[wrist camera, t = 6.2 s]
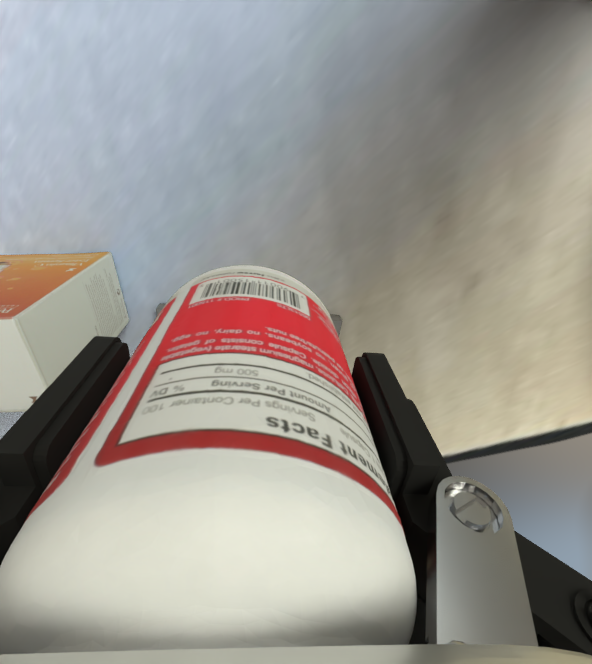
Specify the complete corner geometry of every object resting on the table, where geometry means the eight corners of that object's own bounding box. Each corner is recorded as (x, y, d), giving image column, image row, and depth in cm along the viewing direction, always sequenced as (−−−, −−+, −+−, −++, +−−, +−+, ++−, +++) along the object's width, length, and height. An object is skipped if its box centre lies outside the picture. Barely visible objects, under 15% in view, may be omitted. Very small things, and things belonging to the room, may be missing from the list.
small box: (113, 250, 24) (17, 316, 15) (132, 321, 27) (60, 414, 18) (-6, 252, 24) (-181, 322, 15) (25, 324, 27) (-106, 422, 17)
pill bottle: (225, 431, 14) (125, 1040, 5) (120, 316, 11) (-678, 1238, 2) (363, 367, 13) (613, 1011, 3) (282, 222, 10) (400, 1452, 1)
